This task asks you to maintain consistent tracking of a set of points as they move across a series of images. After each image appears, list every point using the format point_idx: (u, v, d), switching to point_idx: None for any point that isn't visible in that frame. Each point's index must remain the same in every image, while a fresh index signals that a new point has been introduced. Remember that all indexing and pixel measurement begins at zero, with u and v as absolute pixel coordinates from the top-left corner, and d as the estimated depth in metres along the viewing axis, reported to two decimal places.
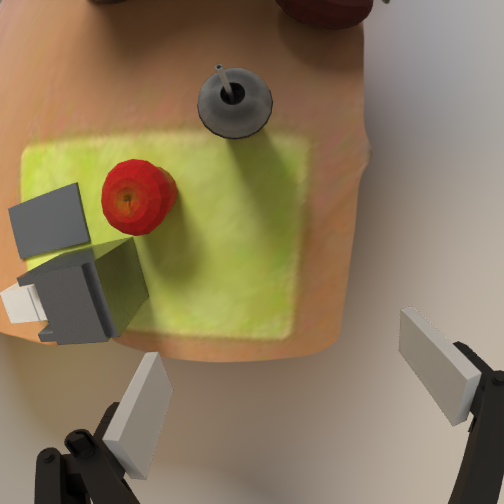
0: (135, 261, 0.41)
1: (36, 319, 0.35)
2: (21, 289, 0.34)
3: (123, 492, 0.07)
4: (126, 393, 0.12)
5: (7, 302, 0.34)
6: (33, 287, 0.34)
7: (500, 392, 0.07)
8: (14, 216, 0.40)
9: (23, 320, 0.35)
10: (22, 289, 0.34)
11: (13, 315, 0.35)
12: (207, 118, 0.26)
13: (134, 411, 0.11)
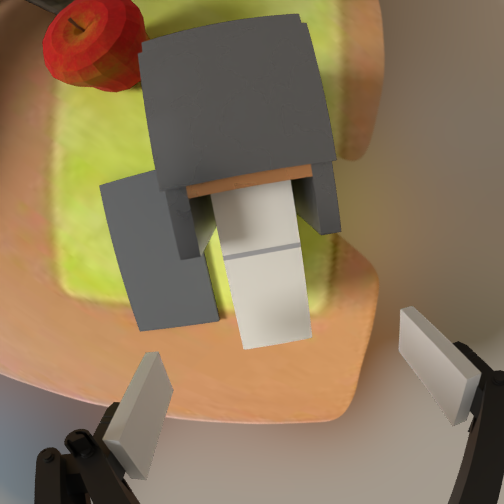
0: None
1: (298, 254, 0.20)
2: (230, 279, 0.20)
3: (123, 492, 0.07)
4: (126, 393, 0.12)
5: (265, 333, 0.21)
6: (222, 239, 0.20)
7: (500, 392, 0.07)
8: (150, 319, 0.31)
9: (303, 297, 0.21)
10: (229, 276, 0.20)
11: (293, 325, 0.21)
12: None
13: (134, 411, 0.11)
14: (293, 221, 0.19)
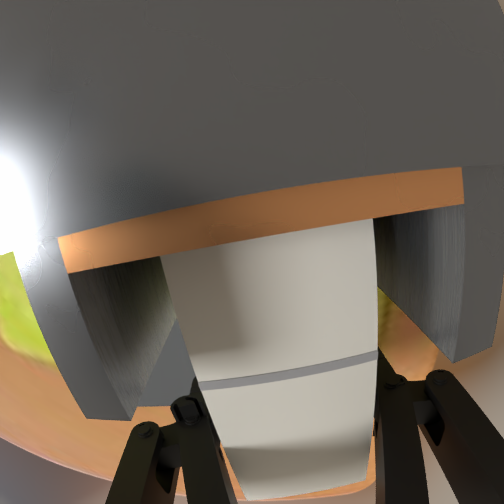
0: None
1: (369, 373, 0.08)
2: (216, 420, 0.08)
3: (219, 466, 0.08)
4: None
5: (285, 485, 0.09)
6: (193, 350, 0.08)
7: (396, 395, 0.09)
8: None
9: (364, 437, 0.09)
10: (215, 416, 0.08)
11: (337, 472, 0.09)
12: None
13: None
14: (369, 307, 0.07)
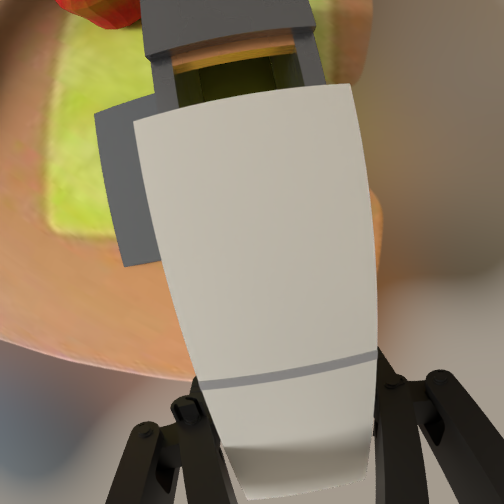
0: None
1: (369, 373, 0.08)
2: (217, 420, 0.08)
3: (219, 466, 0.08)
4: None
5: (285, 484, 0.09)
6: (193, 350, 0.08)
7: (396, 395, 0.09)
8: (135, 252, 0.29)
9: (364, 437, 0.09)
10: (215, 415, 0.08)
11: (337, 471, 0.09)
12: None
13: None
14: (369, 307, 0.07)
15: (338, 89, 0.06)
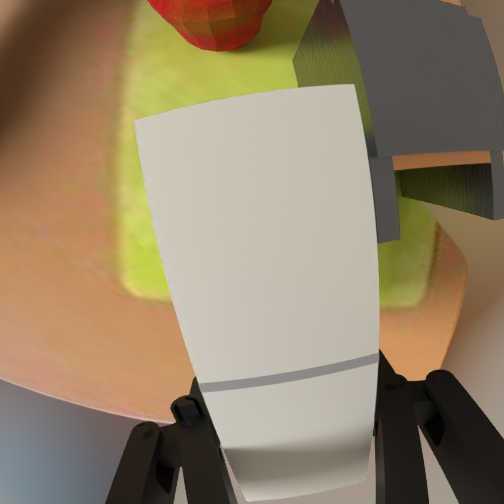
0: None
1: (370, 376, 0.08)
2: (217, 422, 0.08)
3: (219, 466, 0.08)
4: None
5: (285, 486, 0.09)
6: (193, 352, 0.08)
7: (396, 395, 0.09)
8: None
9: (364, 439, 0.09)
10: (215, 417, 0.08)
11: (337, 473, 0.09)
12: None
13: None
14: (371, 310, 0.07)
15: (342, 90, 0.06)
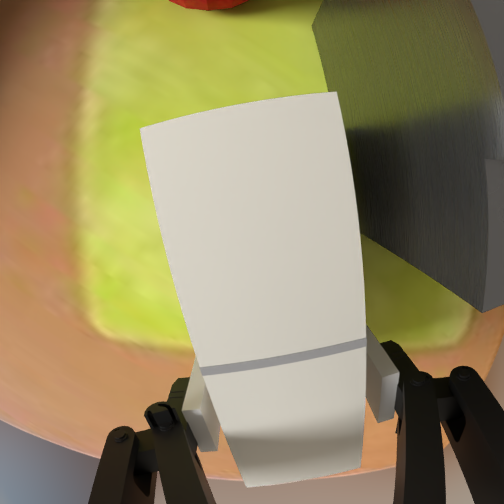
0: None
1: (359, 360, 0.09)
2: (217, 405, 0.09)
3: (195, 471, 0.08)
4: (194, 367, 0.13)
5: (283, 471, 0.10)
6: (195, 337, 0.08)
7: (421, 393, 0.09)
8: None
9: (357, 423, 0.09)
10: (215, 400, 0.09)
11: (333, 458, 0.10)
12: None
13: None
14: (357, 296, 0.08)
15: (325, 97, 0.07)
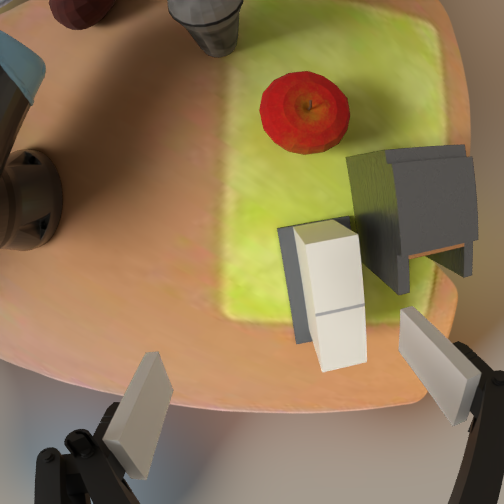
0: None
1: (362, 310, 0.29)
2: (318, 328, 0.29)
3: (123, 492, 0.07)
4: (126, 393, 0.12)
5: (337, 361, 0.30)
6: (315, 303, 0.29)
7: (500, 392, 0.07)
8: (307, 334, 0.40)
9: (363, 336, 0.29)
10: (318, 326, 0.29)
11: (355, 354, 0.30)
12: (222, 3, 0.19)
13: (134, 411, 0.11)
14: (361, 290, 0.28)
15: (355, 236, 0.27)
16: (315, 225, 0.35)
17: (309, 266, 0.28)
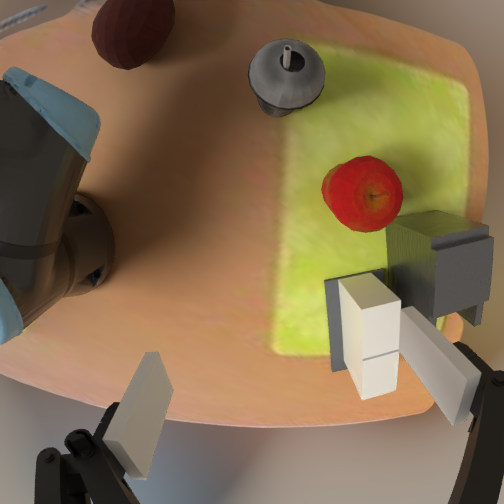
0: (409, 217, 0.39)
1: (397, 354, 0.34)
2: (363, 369, 0.34)
3: (123, 492, 0.07)
4: (126, 393, 0.12)
5: (374, 391, 0.36)
6: (363, 351, 0.34)
7: (500, 392, 0.07)
8: (342, 364, 0.46)
9: (395, 372, 0.35)
10: (363, 367, 0.34)
11: (388, 385, 0.35)
12: (311, 92, 0.24)
13: (134, 411, 0.11)
14: (398, 340, 0.33)
15: (398, 301, 0.32)
16: (358, 280, 0.40)
17: (362, 325, 0.33)
